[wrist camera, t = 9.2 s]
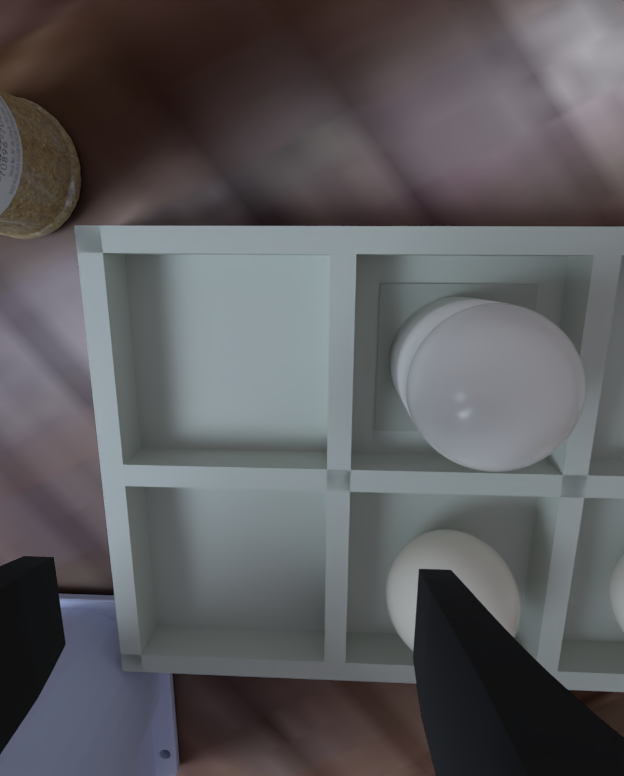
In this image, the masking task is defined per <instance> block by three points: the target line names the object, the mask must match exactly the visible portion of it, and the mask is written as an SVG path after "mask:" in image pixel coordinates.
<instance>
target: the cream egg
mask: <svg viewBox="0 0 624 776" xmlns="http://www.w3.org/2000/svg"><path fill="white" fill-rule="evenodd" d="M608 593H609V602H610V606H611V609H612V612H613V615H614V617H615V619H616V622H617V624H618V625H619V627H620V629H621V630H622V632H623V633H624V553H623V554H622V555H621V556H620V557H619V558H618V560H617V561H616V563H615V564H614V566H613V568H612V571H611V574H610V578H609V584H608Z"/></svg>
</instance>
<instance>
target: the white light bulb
mask: <svg viewBox="0 0 624 776" xmlns="http://www.w3.org/2000/svg"><path fill="white" fill-rule="evenodd" d="M389 369H390V375H391V379H392V382H393V385H394V387H395V389H396V391H397V393H398V395H399V397H400V399H401V401H402V402H403V404H404V406H405V408H406V410H407V412H408V413H409V415H410V417H411V419H412V421H413V423H414V425H415V426H416V428H417V429H418V431H419V433H420V434H421V435H422V436H423V438H424V439H425V440H426V441H427V442H428V444H429V445H430V446H431V447H433V448H434V449H435V450H436V451H437V452H438V453H440V454H441V455H443V456H444V457H446V458H447V459H449V460H451V461H453V462H455V463H457V464H459V465H462V466H465V467H468V468H472V469H477V470H481V471H491V472H498V471H509V470H515V469H519V468H523V467H527V466H529V465H532V464H534V463H537V462H538V461H540V460H542V459H544V458H546V457H547V456H549V455H550V454H551V453H553V452H554V451H555V450H556V449H558V448H559V447H560V446H561V445H562V444H563V443H564V442H565V440H566V439H567V438H568V437H569V436H570V434H571V433H572V431H573V430H574V428H575V426H576V425H577V423H578V421H579V419H580V416H581V413H582V410H583V406H584V402H585V394H586V382H585V373H584V368H583V364H582V361H581V359H580V356H579V354H578V352H577V350H576V348H575V346H574V345H573V343H572V342H571V340H570V339H569V337H568V336H567V335H566V334H565V333H564V332H563V331H562V330H561V329H560V328H559V327H558V326H557V325H556V324H555V323H553V322H552V321H551V320H549V319H548V318H547V317H545V316H543V315H541V314H539V313H538V312H536V311H533V310H530V309H528V308H525V307H522V306H518V305H513V304H508V303H502V302H496V301H490V300H483V299H477V298H471V297H462V296H452V297H445V298H440V299H437V300H434V301H431V302H429V303H427V304H425V305H423V306H422V307H420V308H418V309H417V310H416V311H415V312H413V313H412V314H411V315H410V316H409V317H408V318H407V319H406V320H405V321H404V323H403V324H402V325H401V327H400V328H399V330H398V332H397V333H396V335H395V338H394V340H393V343H392V346H391V350H390V357H389Z"/></svg>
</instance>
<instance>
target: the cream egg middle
mask: <svg viewBox="0 0 624 776" xmlns="http://www.w3.org/2000/svg"><path fill="white" fill-rule="evenodd" d="M419 569H442V570H452V571H453V572H454V574H455V575H456V576H457V577H458V578H459V579H460V580H461V581H462V582H463V583H464V584H465V586H466V587H467V588H468V589H469V590H470V591H471V592H472V593H473V594H474V595H475V597H476V598H477V599H478V600H479V601H480V602H481V603H482V604H483V605H484V606H485V608H486V609H487V610H488V611H489V612H490V613H491V614H492V615H493V616H494V617H495V618H496V620H497V621H498V622H499V623H500V624H501V625H502V626H503V627H504V628H505V629H506V630H507V631H508V632H509V633H510V634H511V635H512V636H513V637H514V636H515V634H516V631H517V628H518V624H519V619H520V596H519V591H518V588H517V584H516V581H515V579H514V576H513V574H512V572H511V570H510V568H509V567H508V565H507V564H506V562H505V561H504V559H503V558H502V557H501V556H500V555H499V553H498V552H497V551H495V550H494V549H493V548H492V547H491V546H490V545H489V544H487V543H486V542H484V541H483V540H481V539H479V538H478V537H476V536H474V535H472V534H469V533H466V532H462V531H458V530H451V529H439V530H433V531H429V532H426V533H423V534H421V535H418V536H417V537H415V538H413V539H412V540H410V541H409V542H408V543H407V544H406V545H404V546H403V548H402V549H401V550H400V551H399V552H398V554H397V555H396V557H395V558H394V560H393V562H392V564H391V567H390V569H389V572H388V576H387V582H386V603H387V608H388V612H389V616H390V619H391V621H392V623H393V626H394V628H395V629H396V631H397V633H398V635H399V636H400V637H401V639H402V640H403V642H404V643H405V644H406V645H407V646H408V647H409V648H410V649H411V650H412V651H413V649H414V634H415V620H416V605H417V590H418V575H419Z"/></svg>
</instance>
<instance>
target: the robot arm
mask: <svg viewBox="0 0 624 776" xmlns="http://www.w3.org/2000/svg"><path fill="white" fill-rule="evenodd" d="M413 662H414V670H415V677H416V684H417V691H418V698H419V704H420V711H421V717H422V721H423V725H424V729H425V733H426V737H427V741H428V745H429V749H430V753H431V758H432V762H433V766H434V770H435V774H436V776H624V738H623V737H622V736H621V735H620V734H619V733H617V732H616V731H615V730H614V729H612V728H611V727H610V726H609V725H608V724H606V723H605V722H604V721H603V720H601V719H600V718H599V717H598V716H597V715H596V714H594V713H593V712H592V711H591V710H590V709H589V708H588V707H586V706H585V705H584V704H583V703H582V702H581V701H580V700H578V699H577V698H576V697H575V696H574V695H573V694H572V693H571V692H570V691H569V690H568V689H566V688H565V687H564V686H563V685H562V684H561V683H560V682H559V681H558V680H557V679H556V678H555V677H553V676H552V675H551V674H550V673H549V672H548V671H547V670H546V669H545V668H544V667H543V666H542V665H541V664H540V663H539V662H538V661H537V660H536V659H534V658H533V657H532V656H531V655H530V654H529V653H528V652H527V651H526V650H525V649H524V648H523V646H522V645H521V644H520V643H519V642H518V641H517V640H516V639H515V638H514V637H513V636H512V635H511V634H510V633H509V632H508V631H507V630H506V629H505V628H504V627H503V626H502V625H501V624H500V623H499V622H498V621H497V620H496V618H495V617H494V616H493V615H492V614H491V613H490V612H489V611H488V610H487V609H486V608H485V606H484V605H483V604H482V603H481V602H480V601H479V600H478V599H477V598H476V597H475V595H474V594H473V593H472V592H471V591H470V590H469V589H468V588H467V587H466V586H465V584H464V583H463V582H462V581H461V580H460V579H459V578H458V577H457V576H456V575H455V574H454V572H453V571H452V570H442V569H419V575H418V590H417V605H416V620H415V634H414V649H413ZM178 769H179V751H178V738H177V725H176V713H175V700H174V687H173V674H172V673H151V672H127V671H122V662H121V652H120V643H119V634H118V625H117V615H116V606H115V597H114V595H85V594H59V592H58V585H57V578H56V571H55V564H54V557H32V556H23V557H21V558H18V559H16V560H14V561H11V562H9V563H7V564H5V565H2V566H0V776H176V775H177V772H178Z"/></svg>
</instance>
